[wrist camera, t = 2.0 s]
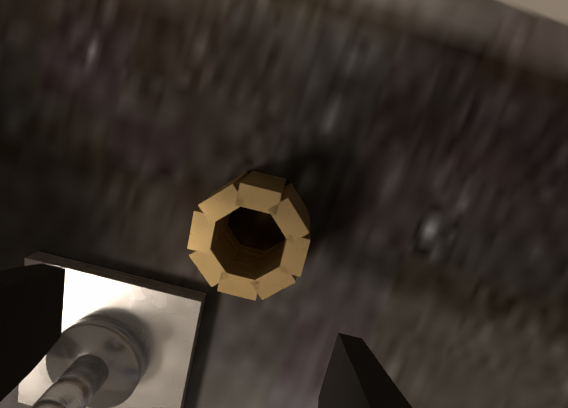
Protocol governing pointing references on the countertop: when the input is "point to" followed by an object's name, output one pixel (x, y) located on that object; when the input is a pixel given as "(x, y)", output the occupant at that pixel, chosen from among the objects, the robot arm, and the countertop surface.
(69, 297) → the piston stand
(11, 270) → the robot arm
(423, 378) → the countertop surface
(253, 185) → the brass ring
